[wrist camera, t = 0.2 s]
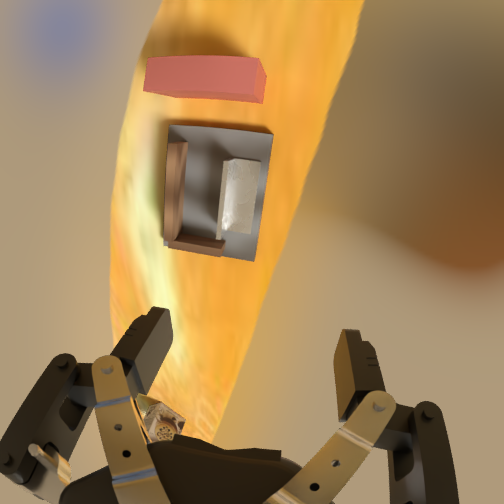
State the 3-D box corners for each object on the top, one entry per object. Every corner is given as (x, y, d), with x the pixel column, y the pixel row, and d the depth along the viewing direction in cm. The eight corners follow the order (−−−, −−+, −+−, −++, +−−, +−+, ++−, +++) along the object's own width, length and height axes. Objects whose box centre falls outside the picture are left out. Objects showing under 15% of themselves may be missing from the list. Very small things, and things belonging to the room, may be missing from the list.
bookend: (230, 157, 36) (223, 161, 32) (261, 161, 35) (257, 165, 32) (222, 228, 40) (216, 239, 36) (250, 233, 40) (246, 244, 36)
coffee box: (186, 419, 65) (170, 467, 51) (172, 422, 68) (156, 468, 53) (161, 401, 63) (140, 450, 49) (148, 405, 65) (127, 451, 51)
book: (180, 71, 32) (147, 57, 23) (266, 76, 32) (258, 58, 23) (176, 97, 34) (143, 91, 25) (262, 103, 33) (253, 94, 24)
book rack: (173, 124, 36) (156, 125, 31) (273, 134, 35) (271, 135, 30) (167, 241, 43) (152, 256, 38) (255, 257, 43) (250, 274, 38)
